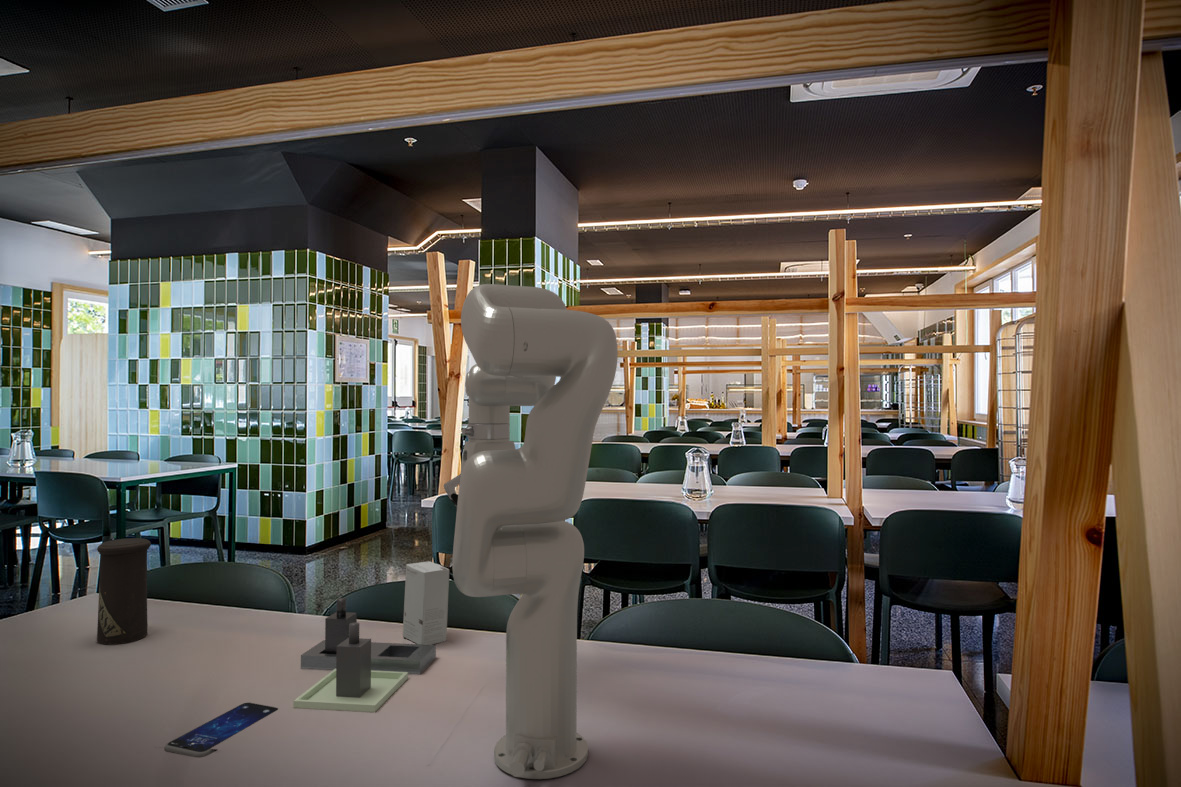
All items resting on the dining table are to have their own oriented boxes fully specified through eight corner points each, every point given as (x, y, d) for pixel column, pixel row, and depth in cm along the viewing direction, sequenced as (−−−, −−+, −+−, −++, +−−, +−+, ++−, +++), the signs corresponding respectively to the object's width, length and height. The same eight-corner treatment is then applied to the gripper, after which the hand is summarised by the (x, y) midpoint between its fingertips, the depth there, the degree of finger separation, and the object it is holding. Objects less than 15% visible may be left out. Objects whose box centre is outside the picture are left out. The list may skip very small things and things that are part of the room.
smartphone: (284, 707, 106) (202, 754, 92) (283, 714, 106) (202, 761, 92) (245, 700, 108) (160, 745, 94) (245, 706, 108) (160, 752, 94)
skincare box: (402, 637, 140) (402, 564, 140) (428, 631, 144) (429, 559, 144) (422, 648, 134) (423, 571, 134) (449, 641, 138) (450, 566, 138)
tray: (375, 715, 104) (375, 705, 104) (293, 710, 106) (293, 700, 106) (408, 681, 117) (408, 672, 117) (334, 677, 119) (335, 668, 119)
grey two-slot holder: (420, 677, 119) (420, 608, 119) (300, 671, 122) (301, 604, 122) (435, 660, 127) (436, 596, 127) (323, 655, 130) (323, 592, 130)
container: (101, 634, 141) (102, 537, 141) (152, 629, 145) (153, 533, 145) (90, 648, 133) (92, 544, 134) (145, 641, 137) (147, 541, 137)
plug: (359, 697, 109) (360, 628, 110) (336, 696, 110) (336, 627, 110) (370, 687, 113) (371, 620, 114) (347, 686, 114) (348, 619, 114)
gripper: (454, 435, 118) (453, 535, 118) (540, 433, 128) (539, 525, 128) (436, 434, 124) (436, 528, 124) (519, 432, 134) (519, 519, 134)
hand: (488, 527), depth 126 cm, fingers open, 9 cm apart
